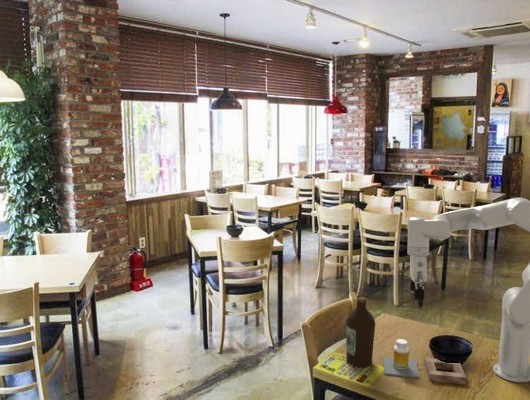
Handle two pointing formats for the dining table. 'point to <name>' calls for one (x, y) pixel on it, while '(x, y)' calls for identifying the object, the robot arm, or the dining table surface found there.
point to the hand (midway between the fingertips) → (416, 294)
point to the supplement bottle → (401, 354)
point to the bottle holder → (440, 376)
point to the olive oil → (360, 335)
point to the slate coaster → (391, 370)
